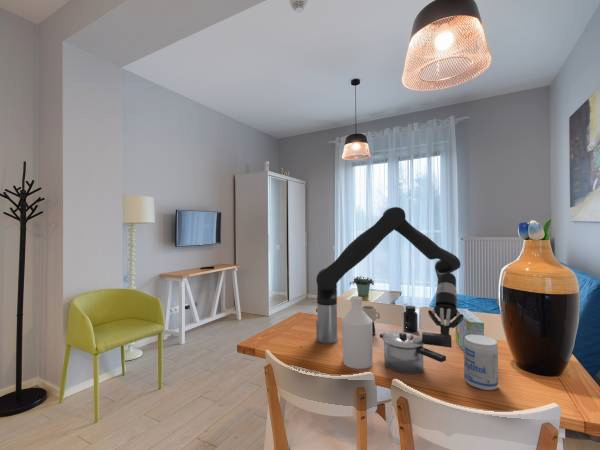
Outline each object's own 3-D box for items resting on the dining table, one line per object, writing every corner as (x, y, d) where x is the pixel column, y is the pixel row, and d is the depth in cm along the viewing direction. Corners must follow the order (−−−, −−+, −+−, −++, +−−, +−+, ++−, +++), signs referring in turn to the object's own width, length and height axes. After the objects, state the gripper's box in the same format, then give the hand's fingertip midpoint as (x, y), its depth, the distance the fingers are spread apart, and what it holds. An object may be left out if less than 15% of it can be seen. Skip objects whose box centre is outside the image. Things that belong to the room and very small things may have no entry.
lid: (380, 345, 106) (380, 334, 106) (385, 332, 120) (385, 323, 120) (453, 355, 97) (453, 343, 97) (449, 339, 111) (449, 329, 111)
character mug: (381, 332, 144) (381, 306, 145) (378, 337, 138) (377, 310, 139) (360, 329, 150) (360, 304, 150) (356, 333, 144) (355, 307, 144)
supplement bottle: (403, 331, 146) (402, 307, 146) (403, 327, 152) (403, 304, 152) (417, 333, 143) (417, 309, 143) (417, 329, 150) (417, 305, 150)
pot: (370, 359, 115) (369, 336, 115) (394, 351, 123) (393, 329, 123) (431, 390, 92) (430, 362, 93) (456, 378, 100) (455, 351, 100)
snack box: (485, 361, 112) (484, 322, 112) (469, 360, 113) (468, 321, 114) (468, 341, 133) (467, 308, 133) (454, 340, 134) (454, 307, 134)
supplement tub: (461, 384, 96) (460, 339, 96) (467, 373, 103) (466, 332, 103) (496, 395, 89) (495, 347, 90) (500, 382, 97) (499, 338, 97)
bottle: (336, 358, 116) (335, 296, 117) (360, 353, 121) (359, 293, 121) (353, 371, 105) (352, 302, 106) (379, 365, 110) (378, 299, 111)
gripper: (427, 289, 120) (424, 328, 109) (464, 292, 113) (464, 334, 102) (429, 299, 124) (426, 337, 113) (464, 303, 118) (465, 344, 107)
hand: (444, 336), depth 108 cm, fingers closed
